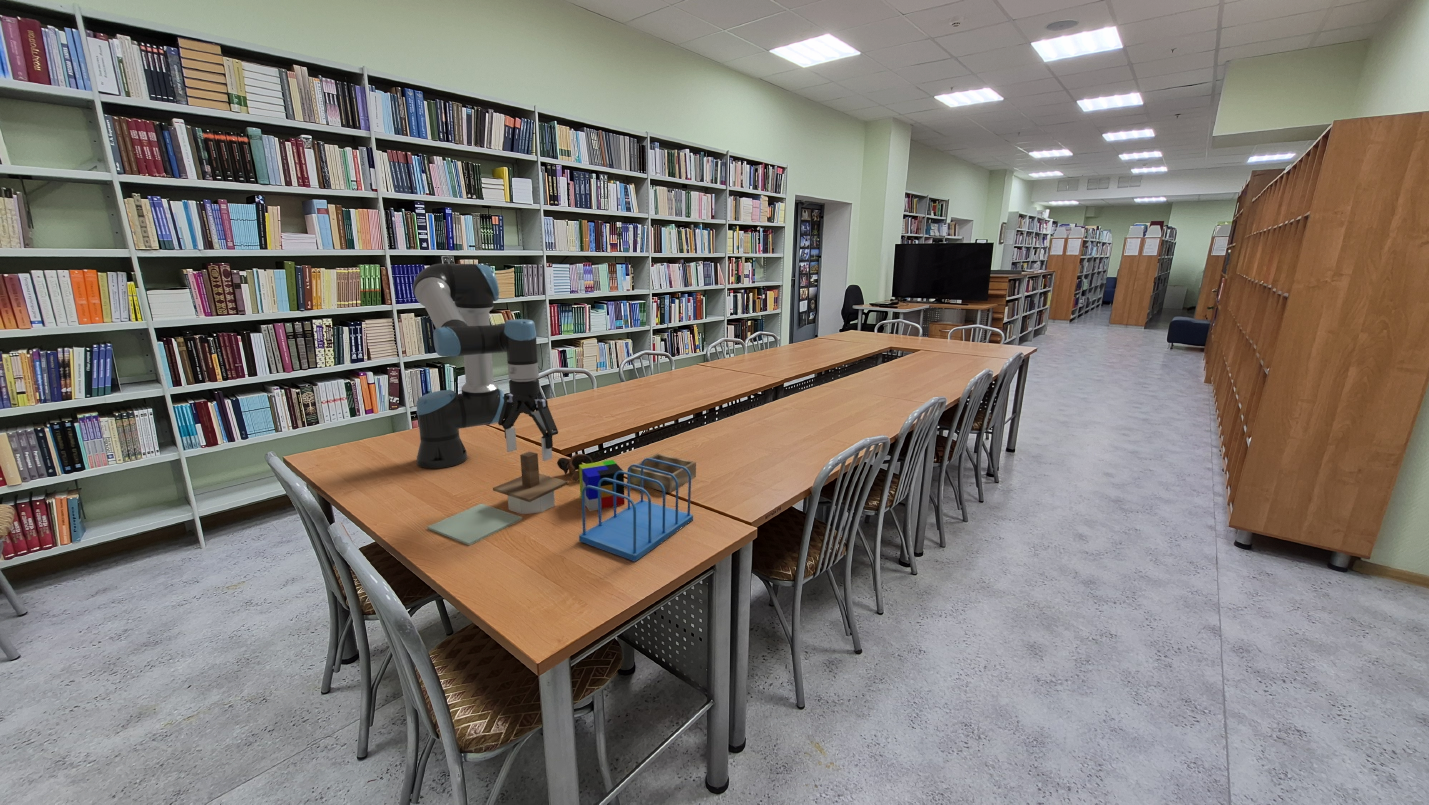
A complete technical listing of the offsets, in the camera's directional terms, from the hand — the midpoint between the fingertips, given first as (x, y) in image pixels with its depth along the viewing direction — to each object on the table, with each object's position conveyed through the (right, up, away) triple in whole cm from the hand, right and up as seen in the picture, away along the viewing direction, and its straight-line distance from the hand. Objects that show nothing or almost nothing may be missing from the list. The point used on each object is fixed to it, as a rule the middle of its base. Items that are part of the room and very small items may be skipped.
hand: (529, 455), depth 147 cm
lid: (0, -9, +3) cm, 10 cm away
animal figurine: (+7, -9, +25) cm, 27 cm away
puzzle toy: (+18, -14, +7) cm, 24 cm away
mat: (-11, -17, -8) cm, 22 cm away
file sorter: (+31, -19, -10) cm, 38 cm away
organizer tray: (+34, -10, +23) cm, 42 cm away
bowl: (0, -14, +4) cm, 15 cm away
